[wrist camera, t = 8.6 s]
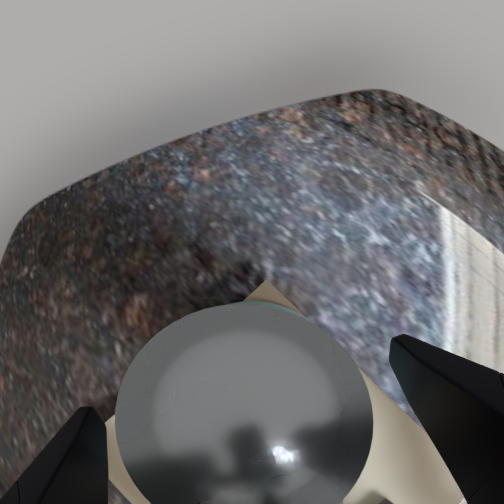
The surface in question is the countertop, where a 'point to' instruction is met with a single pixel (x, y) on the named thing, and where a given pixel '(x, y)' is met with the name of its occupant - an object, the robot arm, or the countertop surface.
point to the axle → (243, 411)
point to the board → (381, 452)
